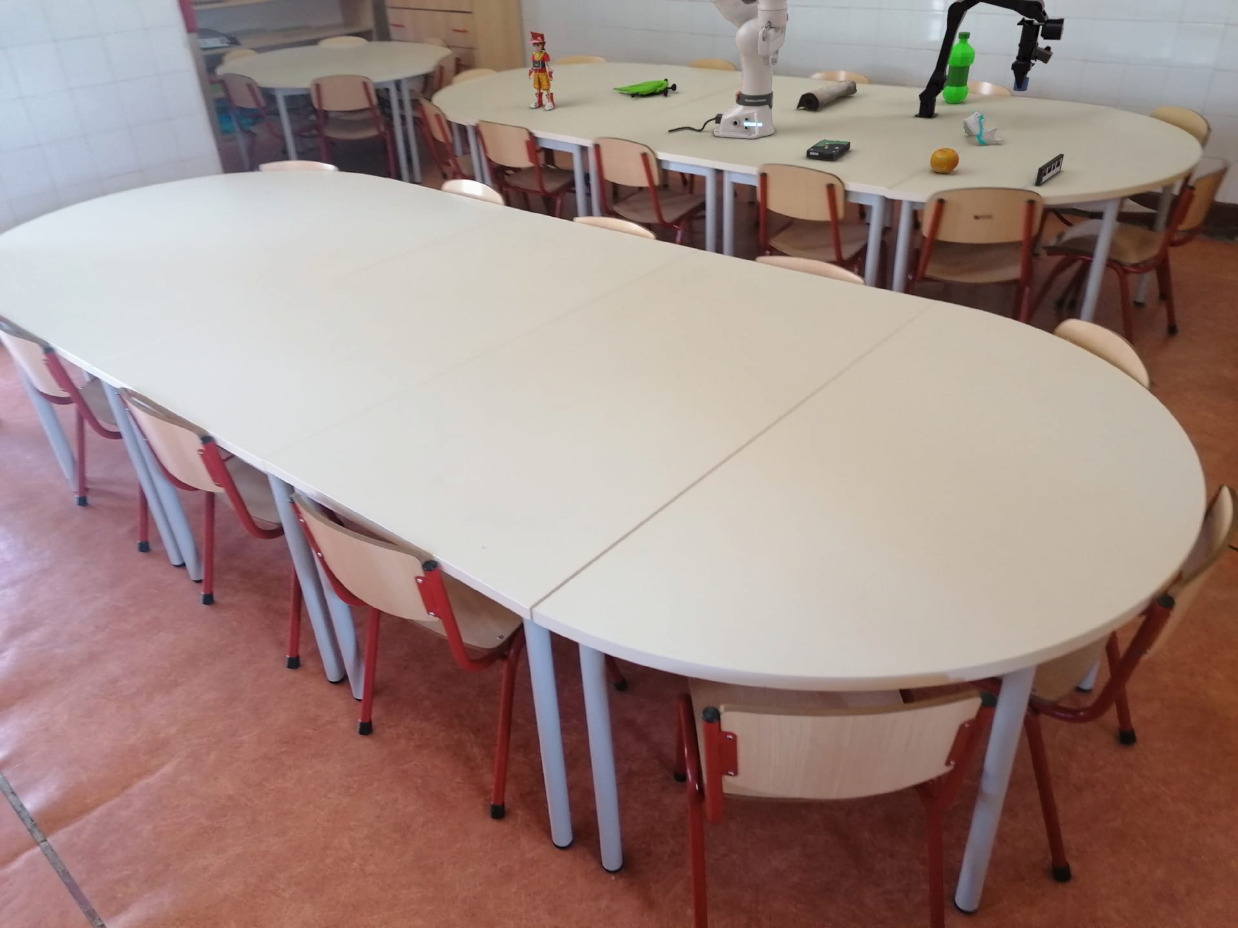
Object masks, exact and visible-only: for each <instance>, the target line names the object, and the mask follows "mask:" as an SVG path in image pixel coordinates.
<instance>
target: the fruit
mask: <svg viewBox="0 0 1238 928" xmlns="http://www.w3.org/2000/svg"><path fill="white" fill-rule="evenodd" d="M959 163H960V156H959V154H958V152H957V151H956V150H955V149H953V148H951V147H942V148H938V149H936V150H934V151H933V153H932V154H931V155H930V159H929V166H930V168H931V169H932V170H933V171H934V172H936V173H939V174H940V173H943V174H944V173H945V174H946V173H951V172H953V171H954V170H956V168H957V167H958V165H959Z"/></svg>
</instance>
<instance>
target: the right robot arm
mask: <svg viewBox="0 0 1238 928" xmlns="http://www.w3.org/2000/svg"><path fill="white" fill-rule="evenodd" d="M980 3H984V4H988V5H991V6H996V7H999V8H1003V9H1007V10H1010V11H1013V12H1015V13H1016V14H1019V15H1020V16H1023V17H1022V18H1021V19H1020V20H1019V21H1018V22H1017V23H1016V26H1021V33H1020V38H1019V43H1018V45H1017V47H1018V49H1017V55H1016V56H1015V60H1014V61H1013V62H1012V63H1011V67H1010V70H1011V71H1012V72H1013V76H1014V81H1015V80H1016V85H1017V88H1018V89H1020V88H1021V86H1022V84H1023V81H1024V78H1025V77H1028V73H1029V72H1031V70H1032V69H1033V67H1034V66H1035V65H1036V63H1035V62H1037V61H1039V62H1042V64H1045V65H1047V64H1048V63H1049V62H1050V60H1051V58H1052V56H1053V54H1054V51H1052V46H1050V45H1046V46H1045V47H1041V46H1039V44H1040V42H1039V41H1038V40H1039V35H1040V37H1041V38H1042V40H1043V41H1061V40H1062V37H1063V33H1064V30H1065V29H1064V28H1065V26H1064V25H1065V17H1058V18H1052V17H1051V18H1050V17H1049V15H1048V13H1047V12H1046V9H1045V7H1046V4H1045V1H1044V0H955V1H953V2H952V3H951V4H950V5H949V6H948V9H947V15H946V29H945V32H944V36H943V39H942V44H941V45H940V46H941V47H940V50H939V54H938V57H937V60H936V63H935V66H934V67H935V68H934V70H933V72H932V74H931V76H930V77H929V79H928V82H927V83H926V85H925V88H924V89H923V90H922V91H921V92H920V93H919V94H918V100H919V106H918V113H915V114H914V117H918V118H926V119H932V118H935V117H936V116H938V112H935V111H936V105H937V97H938V96H939V95H940V94H941V93H943V90H944V89H945V88H946V87H947V81H948V79H949V77H950V75H948V74H947V70H948V67H949V64H948V62H949V59H950V56H951V52H952V49H953V46H955V42H956V39H957V35H958V33H959V29H960V27H961V25H962V23H963V21H964V19H965V17H966V15H967V13H968V11H969V10H970V9H972V8H974V7H975V6H977V5H978V4H980ZM1040 29H1041V30H1040ZM1032 61H1034V62H1032Z"/></svg>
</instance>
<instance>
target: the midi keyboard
mask: <svg viewBox="0 0 1238 928" xmlns="http://www.w3.org/2000/svg"><path fill="white" fill-rule="evenodd" d="M1064 157H1065V153H1059V154H1058V155H1056V156H1055V157H1052V159H1051V160H1049V161H1047V162H1045V164H1042V165H1041V166H1039V167H1038V169H1037V175H1036V179H1035V186H1040V185H1042V183H1044V182H1045V181H1047V180H1048V179H1049V178H1051V177H1052V176H1054V175H1055V174H1056V173H1058V172H1060V171H1061V170H1062V165H1063V161H1064Z"/></svg>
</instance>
